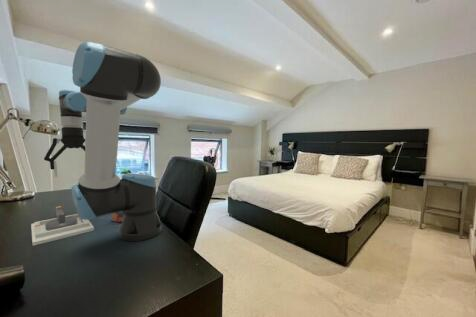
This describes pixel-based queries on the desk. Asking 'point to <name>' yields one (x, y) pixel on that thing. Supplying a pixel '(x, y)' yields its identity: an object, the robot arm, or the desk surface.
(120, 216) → the mug
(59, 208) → the dial
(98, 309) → the desk surface
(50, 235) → the panel
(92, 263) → the desk surface
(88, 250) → the desk surface
